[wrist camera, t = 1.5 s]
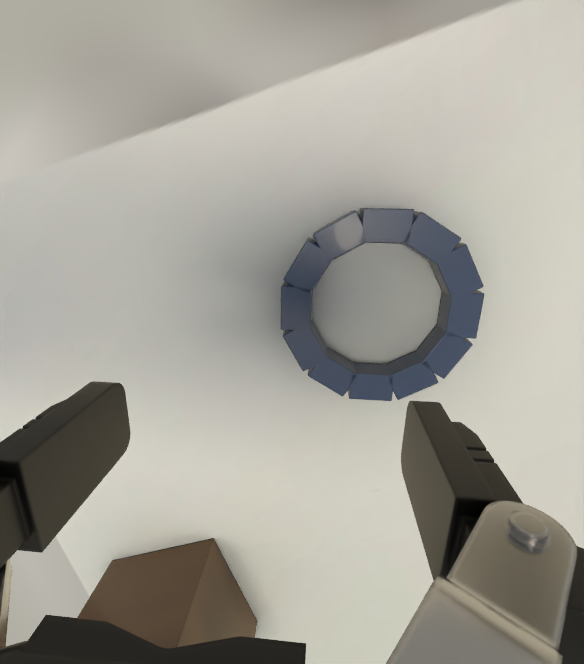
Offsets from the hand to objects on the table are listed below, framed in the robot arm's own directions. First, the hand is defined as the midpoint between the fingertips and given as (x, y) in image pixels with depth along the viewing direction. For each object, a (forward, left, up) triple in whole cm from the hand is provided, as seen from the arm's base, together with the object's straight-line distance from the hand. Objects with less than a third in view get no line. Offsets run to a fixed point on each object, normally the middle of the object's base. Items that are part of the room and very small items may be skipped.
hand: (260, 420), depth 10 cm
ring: (+2, +5, -14) cm, 15 cm away
